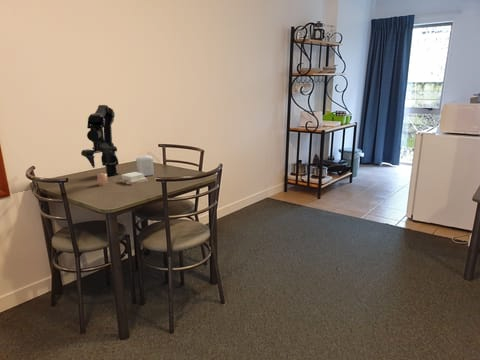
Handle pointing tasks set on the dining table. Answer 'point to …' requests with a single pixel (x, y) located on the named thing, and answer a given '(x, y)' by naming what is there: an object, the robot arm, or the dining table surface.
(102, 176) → the pink small block
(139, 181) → the tower base
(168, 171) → the dining table surface
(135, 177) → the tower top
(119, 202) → the dining table surface
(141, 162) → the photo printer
